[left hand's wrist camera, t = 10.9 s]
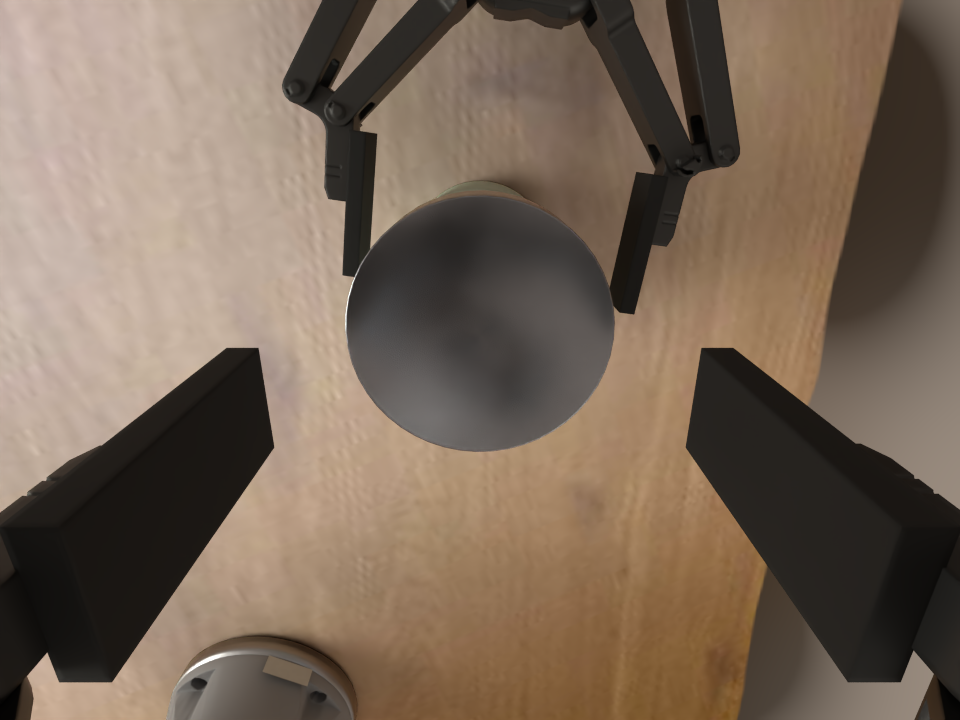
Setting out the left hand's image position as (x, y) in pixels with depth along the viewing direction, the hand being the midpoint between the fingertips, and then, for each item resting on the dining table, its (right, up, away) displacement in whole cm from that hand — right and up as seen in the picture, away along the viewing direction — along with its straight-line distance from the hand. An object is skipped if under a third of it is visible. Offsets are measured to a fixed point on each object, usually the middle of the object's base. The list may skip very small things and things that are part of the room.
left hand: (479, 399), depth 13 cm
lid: (0, +2, +5) cm, 5 cm away
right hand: (0, +5, +14) cm, 15 cm away
